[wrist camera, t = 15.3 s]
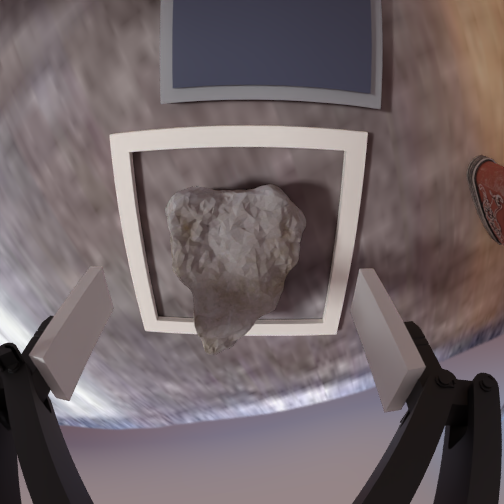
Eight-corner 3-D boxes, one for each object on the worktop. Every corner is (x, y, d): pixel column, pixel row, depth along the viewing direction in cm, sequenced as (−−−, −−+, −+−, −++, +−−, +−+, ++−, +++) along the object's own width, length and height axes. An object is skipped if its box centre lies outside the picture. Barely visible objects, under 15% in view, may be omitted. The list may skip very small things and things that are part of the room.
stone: (286, 309, 23) (293, 369, 18) (177, 301, 23) (158, 359, 18) (305, 177, 18) (325, 212, 13) (170, 169, 18) (137, 201, 13)
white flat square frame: (146, 326, 24) (145, 330, 23) (113, 133, 17) (109, 134, 16) (335, 329, 24) (336, 334, 23) (365, 131, 16) (367, 132, 16)
